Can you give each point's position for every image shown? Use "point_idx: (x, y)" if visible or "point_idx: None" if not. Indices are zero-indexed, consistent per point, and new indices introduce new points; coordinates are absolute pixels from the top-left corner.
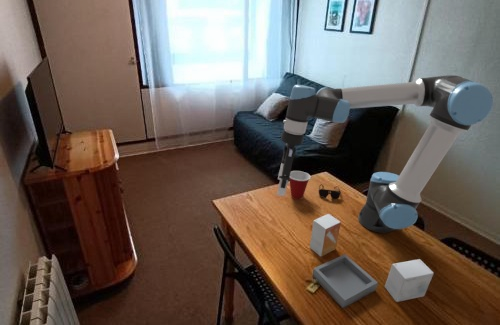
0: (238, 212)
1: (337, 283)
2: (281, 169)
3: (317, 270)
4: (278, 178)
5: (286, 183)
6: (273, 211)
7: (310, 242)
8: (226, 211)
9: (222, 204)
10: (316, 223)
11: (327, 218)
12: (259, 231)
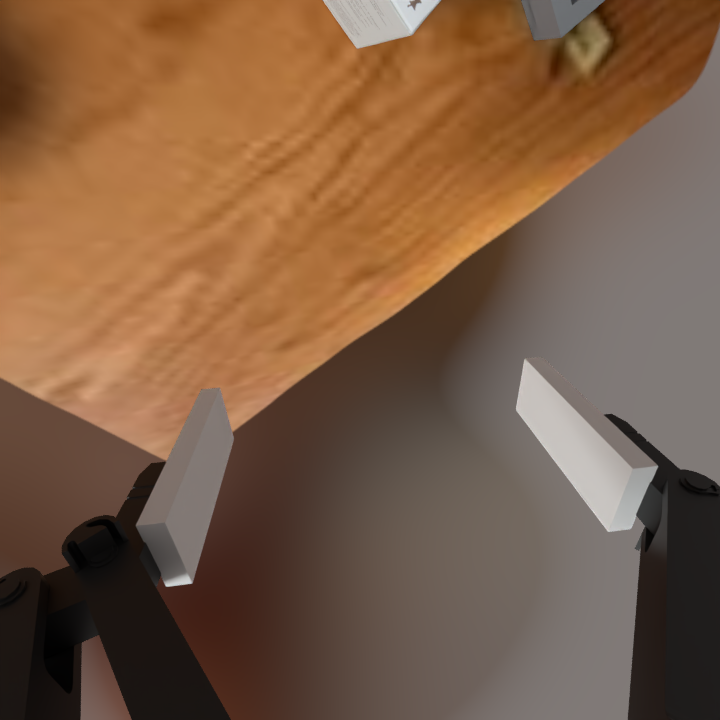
0: None
1: None
2: (207, 509)
3: (577, 14)
4: (231, 440)
5: (617, 438)
6: (119, 273)
7: (366, 46)
8: None
9: None
10: (435, 5)
11: None
12: (296, 302)
